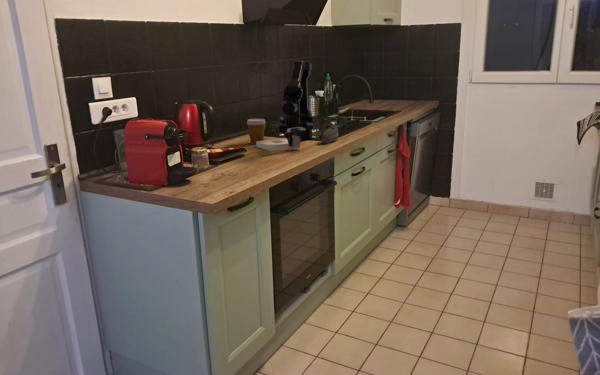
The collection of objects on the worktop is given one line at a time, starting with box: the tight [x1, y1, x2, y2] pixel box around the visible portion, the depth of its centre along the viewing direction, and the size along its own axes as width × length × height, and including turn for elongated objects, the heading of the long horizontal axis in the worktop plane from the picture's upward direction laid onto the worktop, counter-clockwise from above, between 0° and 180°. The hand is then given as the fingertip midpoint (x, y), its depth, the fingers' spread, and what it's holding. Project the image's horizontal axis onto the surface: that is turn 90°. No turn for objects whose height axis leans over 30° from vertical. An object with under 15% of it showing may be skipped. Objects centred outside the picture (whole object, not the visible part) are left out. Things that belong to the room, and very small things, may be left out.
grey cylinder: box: [289, 134, 301, 151], centre depth 231 cm, size 4×4×6 cm
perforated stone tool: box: [320, 126, 340, 144], centre depth 248 cm, size 15×5×7 cm, turn 146°
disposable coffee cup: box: [246, 118, 266, 146], centre depth 247 cm, size 10×10×12 cm
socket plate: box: [255, 137, 290, 152], centre depth 239 cm, size 16×14×3 cm
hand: (294, 145), depth 232 cm, fingers closed on grey cylinder, 4 cm apart
